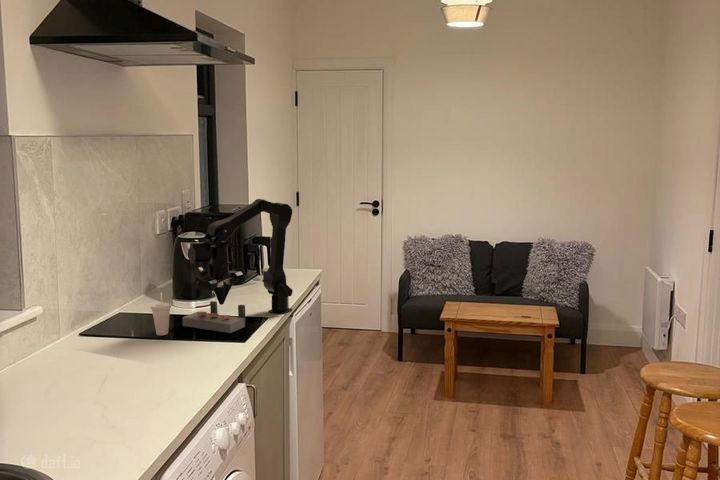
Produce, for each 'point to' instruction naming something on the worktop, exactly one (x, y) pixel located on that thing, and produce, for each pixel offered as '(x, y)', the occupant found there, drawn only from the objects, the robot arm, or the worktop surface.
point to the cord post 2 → (241, 311)
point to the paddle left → (201, 313)
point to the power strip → (213, 322)
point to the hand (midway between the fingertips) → (221, 304)
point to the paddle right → (225, 316)
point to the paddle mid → (213, 315)
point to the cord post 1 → (213, 307)
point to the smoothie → (161, 316)
